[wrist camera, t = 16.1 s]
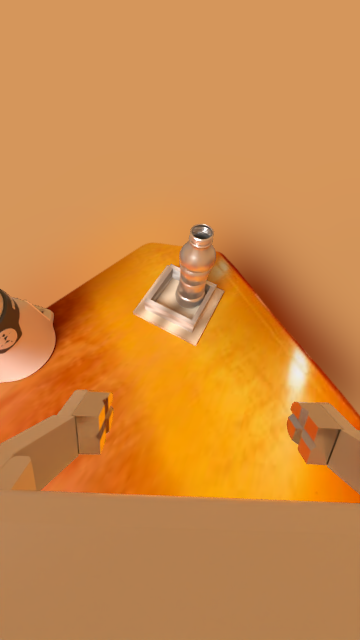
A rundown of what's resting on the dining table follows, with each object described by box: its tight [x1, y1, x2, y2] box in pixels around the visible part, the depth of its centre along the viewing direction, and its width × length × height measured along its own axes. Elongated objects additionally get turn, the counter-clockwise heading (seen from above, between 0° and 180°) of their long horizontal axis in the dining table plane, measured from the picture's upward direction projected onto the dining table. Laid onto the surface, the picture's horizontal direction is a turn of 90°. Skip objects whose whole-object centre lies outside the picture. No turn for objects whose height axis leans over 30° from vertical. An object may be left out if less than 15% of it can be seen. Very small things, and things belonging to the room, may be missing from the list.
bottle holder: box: [133, 264, 224, 346], centre depth 50 cm, size 16×16×4 cm
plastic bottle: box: [175, 224, 216, 309], centre depth 42 cm, size 6×7×20 cm
